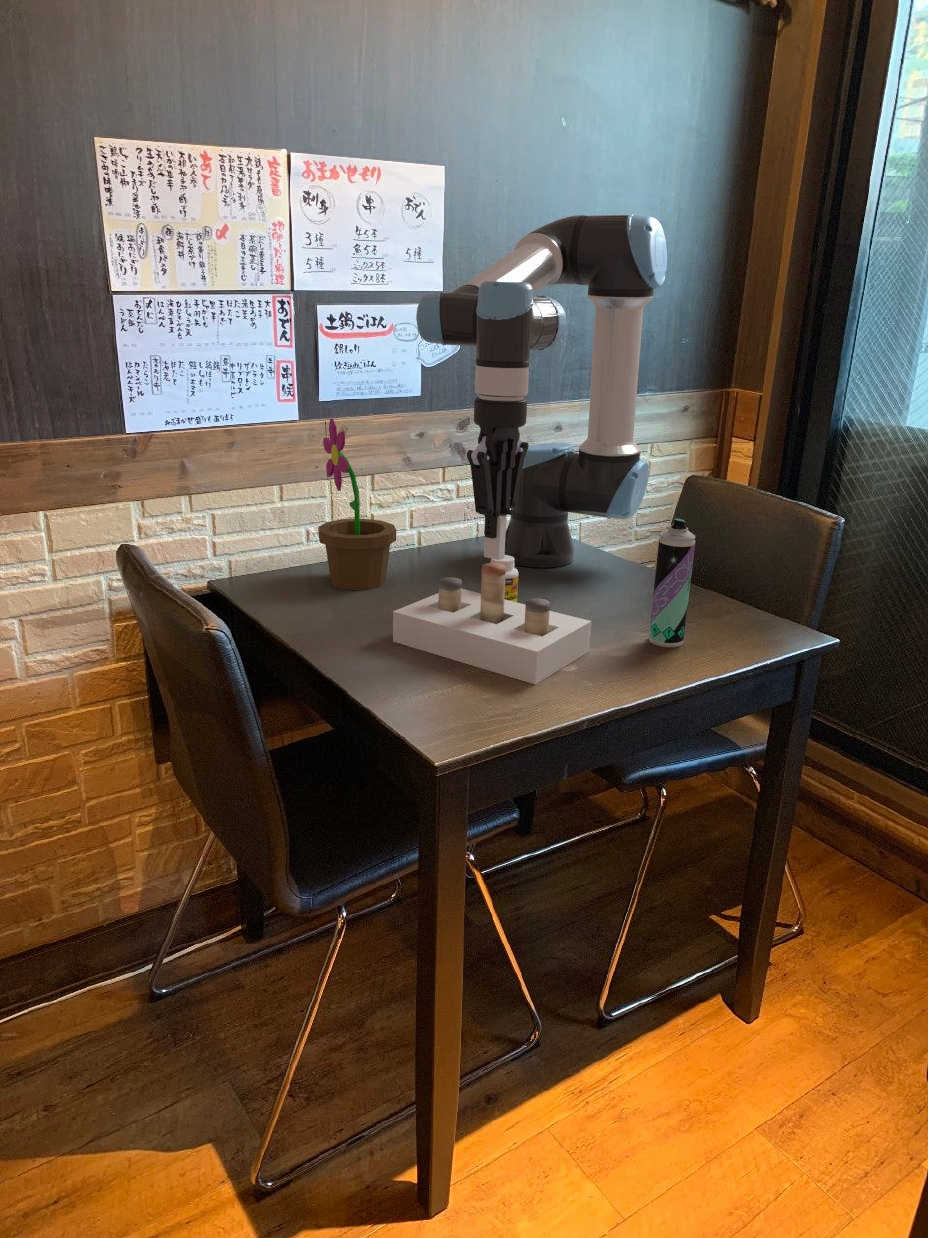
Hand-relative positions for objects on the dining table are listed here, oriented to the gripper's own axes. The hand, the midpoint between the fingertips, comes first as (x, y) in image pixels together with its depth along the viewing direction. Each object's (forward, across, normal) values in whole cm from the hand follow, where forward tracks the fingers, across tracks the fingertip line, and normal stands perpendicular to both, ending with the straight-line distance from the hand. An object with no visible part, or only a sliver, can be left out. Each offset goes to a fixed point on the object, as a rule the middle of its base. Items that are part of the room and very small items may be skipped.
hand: (494, 557), depth 140 cm
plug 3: (+14, 0, +8) cm, 16 cm away
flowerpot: (+15, -12, -37) cm, 42 cm away
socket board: (+14, 0, 0) cm, 14 cm away
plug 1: (+14, 0, -8) cm, 16 cm away
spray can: (+15, -20, +20) cm, 32 cm away
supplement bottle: (+15, -13, -7) cm, 21 cm away
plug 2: (+10, 0, 0) cm, 10 cm away
